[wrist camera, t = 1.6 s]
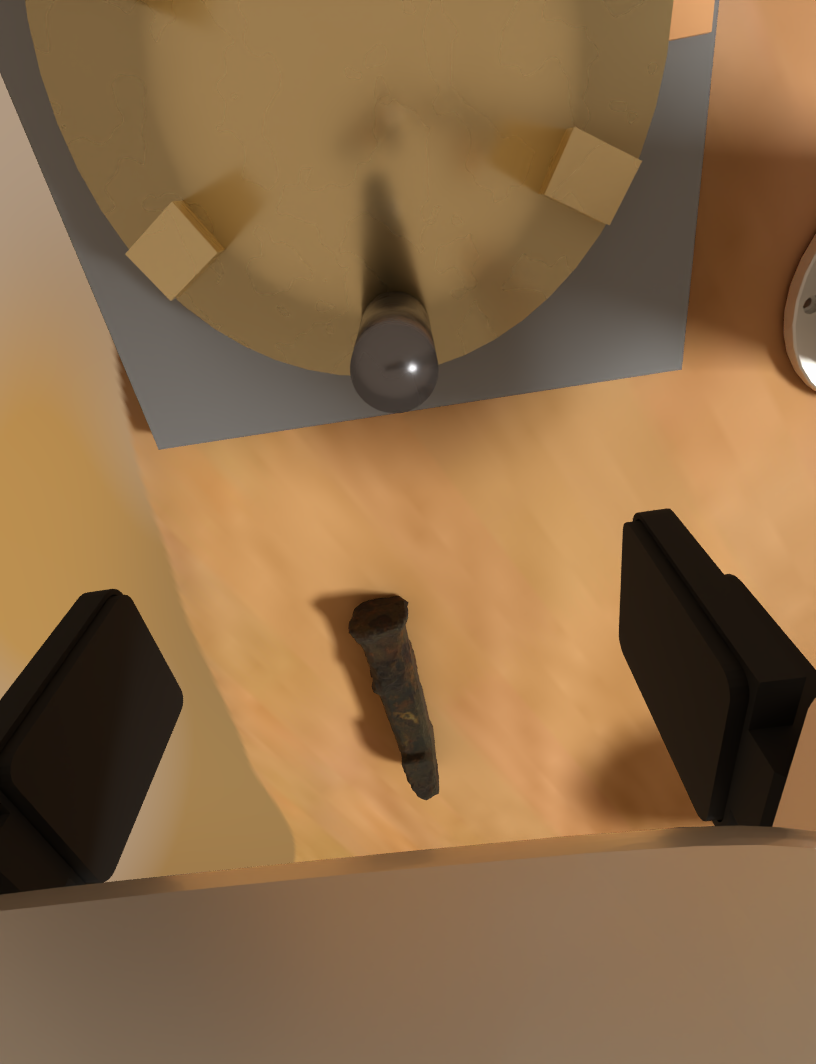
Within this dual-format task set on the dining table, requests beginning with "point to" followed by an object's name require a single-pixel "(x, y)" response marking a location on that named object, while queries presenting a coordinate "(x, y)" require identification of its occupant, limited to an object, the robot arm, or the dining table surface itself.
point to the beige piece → (356, 161)
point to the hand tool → (398, 687)
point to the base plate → (488, 372)
